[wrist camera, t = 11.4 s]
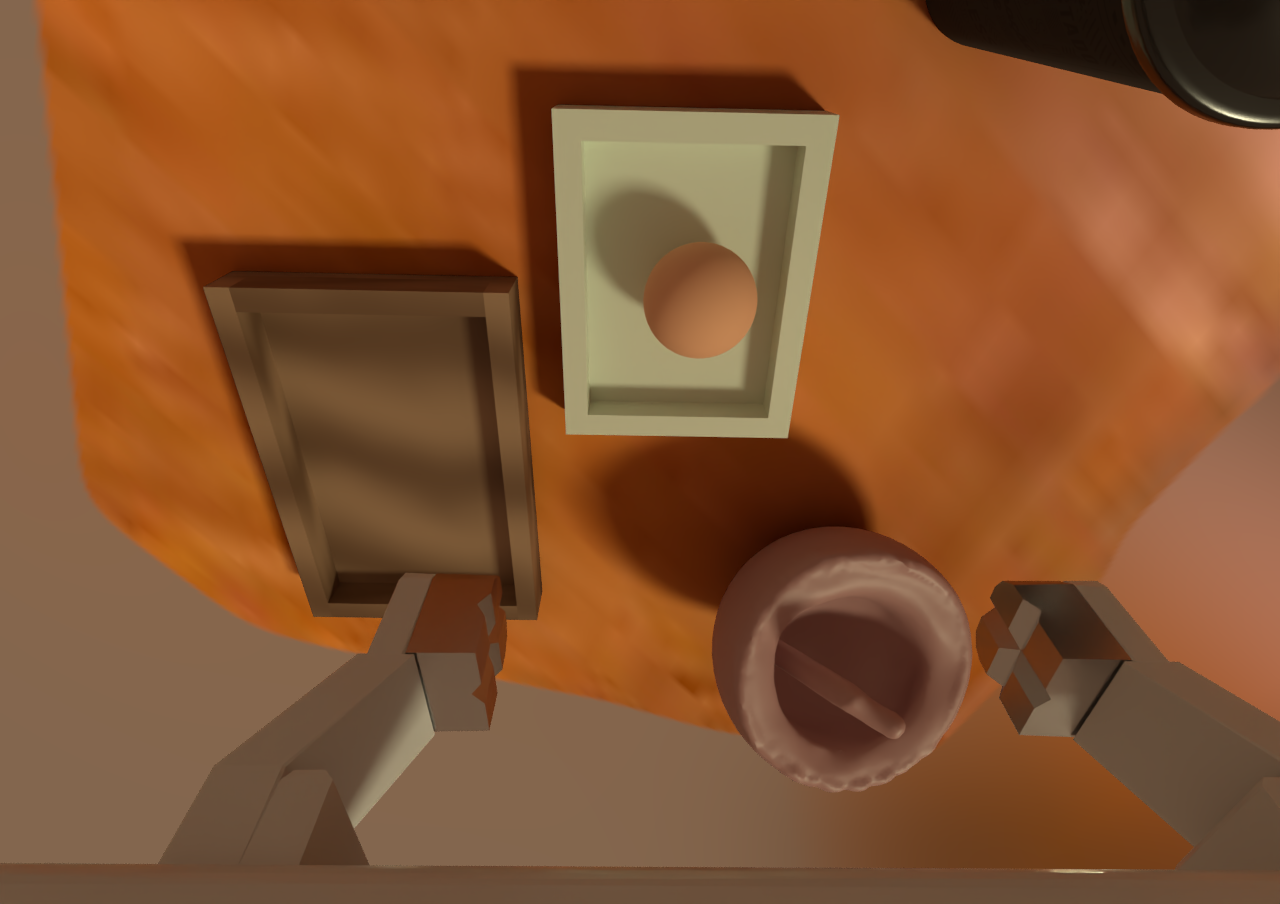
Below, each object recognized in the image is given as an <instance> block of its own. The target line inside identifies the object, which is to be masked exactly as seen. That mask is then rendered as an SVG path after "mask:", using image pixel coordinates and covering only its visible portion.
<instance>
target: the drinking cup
mask: <svg viewBox="0 0 1280 904" xmlns="http://www.w3.org/2000/svg"><path fill="white" fill-rule="evenodd" d="M926 3H927V7H928V10H929V13H930V15H931V17H932V19H933V21H934V23H935V24H936V26H937V27H938V28H939V30H940V31H941V32H942V33H943V34H944V35H945V36H947V37H948V38H949V39H951V40H953V41H954V42H957V43H959V44H962V45H965V46H969V47H973V48H977V49H981V50H985V51H989V52H993V53H997V54H1002V55H1006V56H1010V57H1014V58H1018V59H1022V60H1026V61H1030V62H1034V63H1038V64H1043V65H1047V66H1051V67H1055V68H1059V69H1063V70H1067V71H1071V72H1075V73H1079V74H1083V75H1088V76H1092V77H1096V78H1100V79H1104V80H1108V81H1112V82H1116V83H1120V84H1124V85H1129V86H1133V87H1137V88H1141V89H1145V90H1149V91H1153V92H1157V93H1161V94H1164V95H1165V96H1166V97H1167V98H1168V99H1169V100H1171V101H1172V102H1173V103H1174V104H1175V105H1177V106H1178V107H1180V108H1182V109H1183V110H1185V111H1187V112H1188V113H1190V114H1192V115H1194V116H1197V117H1199V118H1202V119H1204V120H1207V121H1210V122H1214V123H1218V124H1221V125H1226V126H1232V127H1240V128H1247V129H1271V130H1272V129H1280V0H926Z"/></svg>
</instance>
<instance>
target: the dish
mask: <svg viewBox="0 0 1280 904" xmlns="http://www.w3.org/2000/svg"><path fill="white" fill-rule="evenodd" d="M203 289H204V292H205V295H206V298H207V301H208V304H209V307H210V310H211V313H212V316H213V319H214V322H215V325H216V328H217V331H218V334H219V337H220V340H221V342H222V345H223V348H224V351H225V354H226V357H227V360H228V363H229V366H230V369H231V372H232V375H233V378H234V381H235V384H236V387H237V390H238V393H239V396H240V399H241V402H242V405H243V408H244V411H245V414H246V417H247V420H248V423H249V426H250V429H251V432H252V435H253V438H254V441H255V444H256V447H257V450H258V453H259V456H260V459H261V462H262V465H263V468H264V471H265V473H266V476H267V479H268V482H269V485H270V488H271V491H272V494H273V497H274V500H275V503H276V506H277V509H278V512H279V515H280V518H281V521H282V524H283V527H284V530H285V533H286V536H287V539H288V542H289V545H290V548H291V551H292V554H293V557H294V560H295V563H296V566H297V569H298V572H299V575H300V578H301V581H302V584H303V587H304V590H305V593H306V596H307V599H308V602H309V605H310V607H311V610H312V613H313V616H314V617H371V618H383V616H384V613H385V611H386V609H387V606H388V604H389V602H390V599H391V597H392V595H393V592H394V590H395V588H396V585H397V583H398V581H399V579H400V578H401V577H402V576H403V575H404V574H405V573H424V574H437V573H442V574H470V575H497V576H499V577H500V580H501V586H502V592H503V593H502V597H501V602H500V607H501V608H502V609H503V610H504V611H505V613H506V620H537V617H538V612H539V606H540V601H541V595H542V582H541V570H540V557H539V544H538V532H537V519H536V506H535V493H534V481H533V468H532V455H531V443H530V430H529V417H528V404H527V392H526V379H525V366H524V354H523V341H522V328H521V315H520V303H519V290H518V277H496V276H446V275H397V274H348V273H299V272H250V271H232V272H230V273H228V274H227V275H225V276H223V277H221V278H219V279H217V280H215V281H213V282H212V283H210V284H208V285H206V286H204V287H203Z"/></svg>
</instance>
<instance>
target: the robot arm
mask: <svg viewBox="0 0 1280 904" xmlns="http://www.w3.org/2000/svg"><path fill="white" fill-rule="evenodd" d="M502 593H503V592H502V586H501V580H500V577H499V576H497V575H470V574H442V573H437V574H424V573H405V574H404V575H403V576H402V577H401V578H400V579H399V581H398V583H397V585H396V588H395V590H394V592H393V595H392V597H391V599H390V602H389V604H388V606H387V609H386V611H385V613H384V616H383V618H382V620H381V623H380V625H379V627H378V630H377V632H376V634H375V637H374V639H373V641H372V644H371V646H370V648H369V651H368V653H367V654H357V655H355V656H354V657H353V658H352V659H350V660H349V661H348V662H346V663H345V664H344V665H343V666H341V667H340V668H339V669H337V670H336V671H335V672H334V673H332V674H331V675H330V676H328V677H327V678H326V679H325V680H323V681H322V682H321V683H320V684H318V685H317V686H316V687H314V688H313V689H312V690H311V691H309V692H308V693H307V694H305V695H304V696H303V697H302V698H300V699H299V700H298V701H296V702H295V703H294V704H293V705H291V706H290V707H289V708H287V709H286V710H285V711H284V712H282V713H281V714H280V715H279V716H277V717H276V718H275V719H273V720H272V721H271V722H270V723H268V724H267V725H266V726H264V727H263V728H262V729H261V730H259V731H258V732H257V733H255V734H254V735H253V736H252V737H250V738H249V739H248V740H246V741H245V742H244V743H243V744H241V745H240V746H239V747H238V748H236V749H235V750H234V751H233V752H231V753H230V754H229V755H227V756H226V757H225V758H223V759H222V760H221V761H220V762H218V763H217V764H216V765H214V767H213V768H212V770H211V772H210V774H209V775H208V777H207V779H206V781H205V782H204V784H203V786H202V788H201V790H200V791H199V793H198V795H197V796H196V798H195V800H194V802H193V803H192V805H191V807H190V809H189V810H188V812H187V814H186V816H185V817H184V819H183V821H182V823H181V825H180V826H179V828H178V830H177V831H176V833H175V835H174V837H173V838H172V840H171V842H170V844H169V845H168V847H167V849H166V851H165V852H164V854H163V856H162V858H161V859H160V861H159V863H158V864H65V863H63V864H61V863H57V864H56V863H49V864H48V863H0V904H1280V722H1279V721H1278V720H1276V719H1274V718H1273V717H1271V716H1269V715H1268V714H1266V713H1264V712H1262V711H1261V710H1259V709H1257V708H1256V707H1254V706H1252V705H1251V704H1249V703H1247V702H1245V701H1244V700H1242V699H1241V698H1239V697H1237V696H1235V695H1234V694H1232V693H1230V692H1229V691H1227V690H1225V689H1224V688H1222V687H1220V686H1219V685H1217V684H1215V683H1213V682H1212V681H1210V680H1208V679H1207V678H1205V677H1203V676H1202V675H1200V674H1198V673H1196V672H1195V671H1193V670H1192V669H1190V668H1188V667H1186V666H1185V665H1183V664H1181V663H1180V662H1169V661H1168V660H1167V659H1166V658H1165V657H1164V655H1163V654H1162V653H1161V652H1160V650H1159V649H1158V648H1157V647H1156V646H1155V644H1154V643H1153V642H1152V641H1151V640H1150V639H1149V638H1148V636H1147V635H1146V634H1145V633H1144V631H1143V630H1142V629H1141V628H1140V626H1139V625H1138V624H1137V623H1136V622H1135V620H1133V618H1132V617H1131V616H1130V615H1129V613H1128V612H1127V611H1126V610H1125V608H1124V607H1123V606H1122V605H1121V604H1120V602H1119V601H1118V600H1117V599H1116V598H1115V597H1114V595H1113V594H1112V593H1111V592H1110V591H1109V589H1108V588H1107V587H1106V586H1104V585H1103V584H1101V583H1099V582H1097V581H1064V582H1061V581H1002V582H1001V583H999V584H998V585H997V586H996V587H995V588H994V590H993V593H992V595H991V597H990V599H991V601H992V602H993V604H994V606H995V608H993V609H992V610H990V611H989V612H988V613H986V614H985V615H983V616H982V617H981V619H980V622H979V625H978V627H977V630H976V649H977V653H978V656H979V660H980V662H981V664H982V666H983V668H984V670H985V672H986V674H987V675H989V676H990V677H991V678H993V679H994V680H995V681H997V682H998V683H999V684H1001V685H1002V690H1001V693H1000V697H999V698H1000V700H1001V702H1002V704H1003V705H1004V707H1005V709H1006V711H1007V713H1008V715H1009V717H1010V718H1011V720H1012V722H1013V724H1014V726H1015V728H1016V730H1017V732H1018V733H1019V735H1036V736H1065V737H1074V739H1073V740H1074V741H1075V742H1077V743H1078V744H1079V745H1080V746H1081V747H1082V748H1083V749H1085V751H1087V752H1088V753H1089V754H1090V755H1091V756H1092V757H1093V758H1095V759H1096V760H1097V761H1098V762H1099V763H1100V764H1101V765H1103V766H1104V767H1105V768H1106V769H1107V770H1108V771H1109V772H1110V773H1111V774H1113V775H1114V776H1115V777H1116V778H1117V779H1118V780H1119V781H1120V782H1122V783H1123V784H1124V785H1125V786H1126V787H1127V788H1128V789H1129V790H1131V791H1132V792H1133V793H1134V794H1135V795H1136V796H1137V797H1138V798H1140V799H1141V800H1142V801H1143V802H1144V803H1145V804H1146V805H1148V806H1149V807H1150V808H1151V809H1152V810H1153V811H1154V812H1155V813H1157V814H1158V815H1159V816H1160V817H1161V818H1162V819H1163V820H1164V821H1165V822H1167V823H1168V824H1169V825H1170V826H1171V827H1172V828H1173V829H1175V830H1176V831H1177V832H1178V833H1179V834H1181V836H1182V837H1184V838H1185V839H1186V840H1187V841H1188V842H1189V843H1190V844H1191V845H1193V846H1194V848H1193V849H1192V850H1191V851H1190V852H1189V853H1188V854H1187V855H1186V856H1185V857H1184V858H1183V859H1182V860H1181V861H1180V862H1179V863H1178V865H1177V866H1176V868H1175V870H1118V869H1112V870H1111V869H1103V870H1102V869H950V868H947V869H946V868H945V869H944V868H943V869H942V868H755V867H754V868H752V867H751V868H748V867H742V868H741V867H561V866H560V867H559V866H558V867H557V866H554V867H553V866H374V865H373V866H370V865H369V863H368V860H367V858H366V856H365V853H364V851H363V849H362V846H361V844H360V842H359V840H358V837H357V835H356V832H355V830H354V828H355V827H356V826H357V824H358V823H359V822H360V821H361V820H362V819H363V817H364V816H365V815H366V814H367V813H368V812H369V810H370V809H371V808H372V807H373V806H374V805H375V804H376V802H377V801H378V800H379V799H380V798H381V797H382V795H383V794H384V793H385V792H386V791H387V790H388V788H389V787H390V786H391V785H392V784H393V783H394V781H395V780H396V779H397V778H398V777H399V776H400V774H401V773H402V772H403V771H404V770H405V769H406V768H407V766H408V765H409V764H410V763H411V762H412V761H413V760H414V758H415V757H416V756H417V755H418V753H420V751H421V750H422V749H423V748H424V747H425V746H426V744H427V743H428V742H429V741H430V740H431V738H432V737H433V736H434V735H435V733H434V731H479V730H480V731H483V730H490V725H491V720H492V716H493V711H494V706H495V702H496V697H497V687H496V681H495V676H496V675H497V674H498V673H499V672H500V671H501V670H502V668H503V663H504V658H505V651H506V640H507V622H506V613H505V611H504V610H503V609H502V608H501V607H500V602H501V597H502Z"/></svg>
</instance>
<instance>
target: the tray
mask: <svg viewBox="0 0 1280 904" xmlns="http://www.w3.org/2000/svg"><path fill="white" fill-rule="evenodd" d="M551 111H552V133H553V156H554V178H555V200H556V222H557V244H558V266H559V289H560V311H561V333H562V355H563V377H564V399H565V422H566V434H584V435H640V436H696V437H752V438H788V432H789V426H790V420H791V414H792V407H793V401H794V395H795V389H796V382H797V376H798V370H799V364H800V358H801V351H802V345H803V339H804V333H805V326H806V320H807V314H808V308H809V302H810V295H811V289H812V283H813V277H814V270H815V264H816V258H817V252H818V246H819V239H820V233H821V227H822V221H823V214H824V208H825V202H826V196H827V190H828V183H829V177H830V171H831V165H832V158H833V152H834V146H835V140H836V134H837V127H838V121H839V115H837V114H834V113H831V112H828V111H814V110H770V109H726V108H683V107H639V106H596V105H556V106H555V107H553V108H551ZM694 242H709V243H715V244H718V245H721V246H723V247H725V248H727V249H729V250H731V251H733V252H734V253H735V254H737V255H738V256H739V257H740V258H741V259H742V260H743V261H744V262H745V264H746V265H747V266H748V268H749V270H750V272H751V274H752V275H753V278H754V281H755V284H756V289H757V309H756V314H755V317H754V320H753V323H752V325H751V327H750V329H749V330H748V332H747V334H746V335H745V336H744V338H743V339H742V340H741V341H740V342H739V343H738V344H737V345H735V346H734V347H733V348H731V349H730V350H728V351H726V352H725V353H723V354H720V355H718V356H714V357H710V358H699V359H696V358H689V357H685V356H681V355H679V354H676V353H674V352H672V351H671V350H669V349H667V348H666V347H665V346H664V345H662V344H661V343H660V342H659V340H658V339H657V338H656V337H655V336H654V334H653V333H652V331H651V329H650V327H649V325H648V323H647V320H646V317H645V312H644V305H643V298H644V290H645V286H646V283H647V280H648V277H649V275H650V273H651V271H652V270H653V268H654V267H655V265H656V264H657V263H658V262H659V260H660V259H661V258H663V257H664V256H665V255H666V254H667V253H669V252H670V251H672V250H673V249H675V248H677V247H680V246H682V245H685V244H689V243H694Z"/></svg>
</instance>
